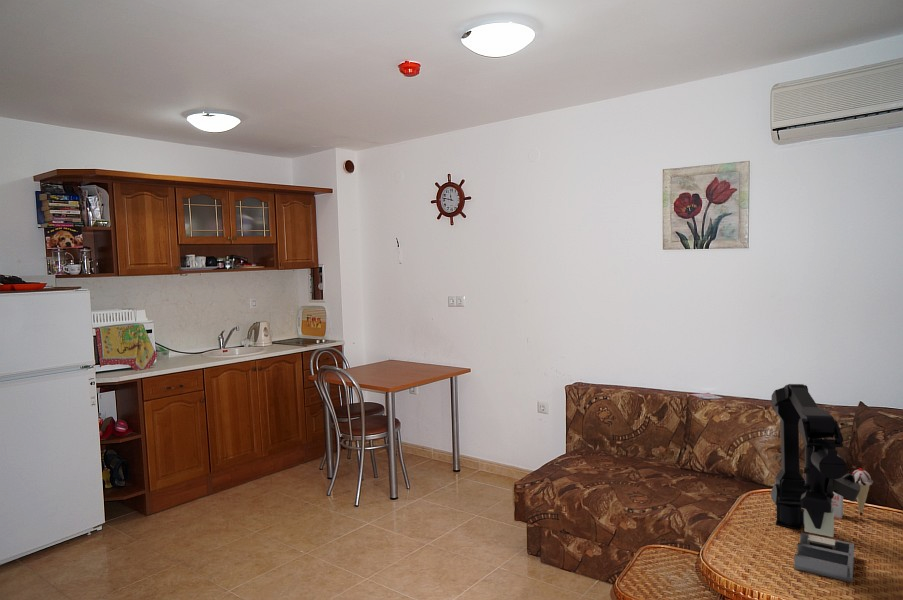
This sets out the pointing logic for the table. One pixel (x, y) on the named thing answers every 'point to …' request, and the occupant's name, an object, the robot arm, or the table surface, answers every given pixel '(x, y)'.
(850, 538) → the table surface
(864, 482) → the ice cream cone
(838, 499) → the white boxy piece
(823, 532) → the pale sage upright block
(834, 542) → the gray compartment tray
